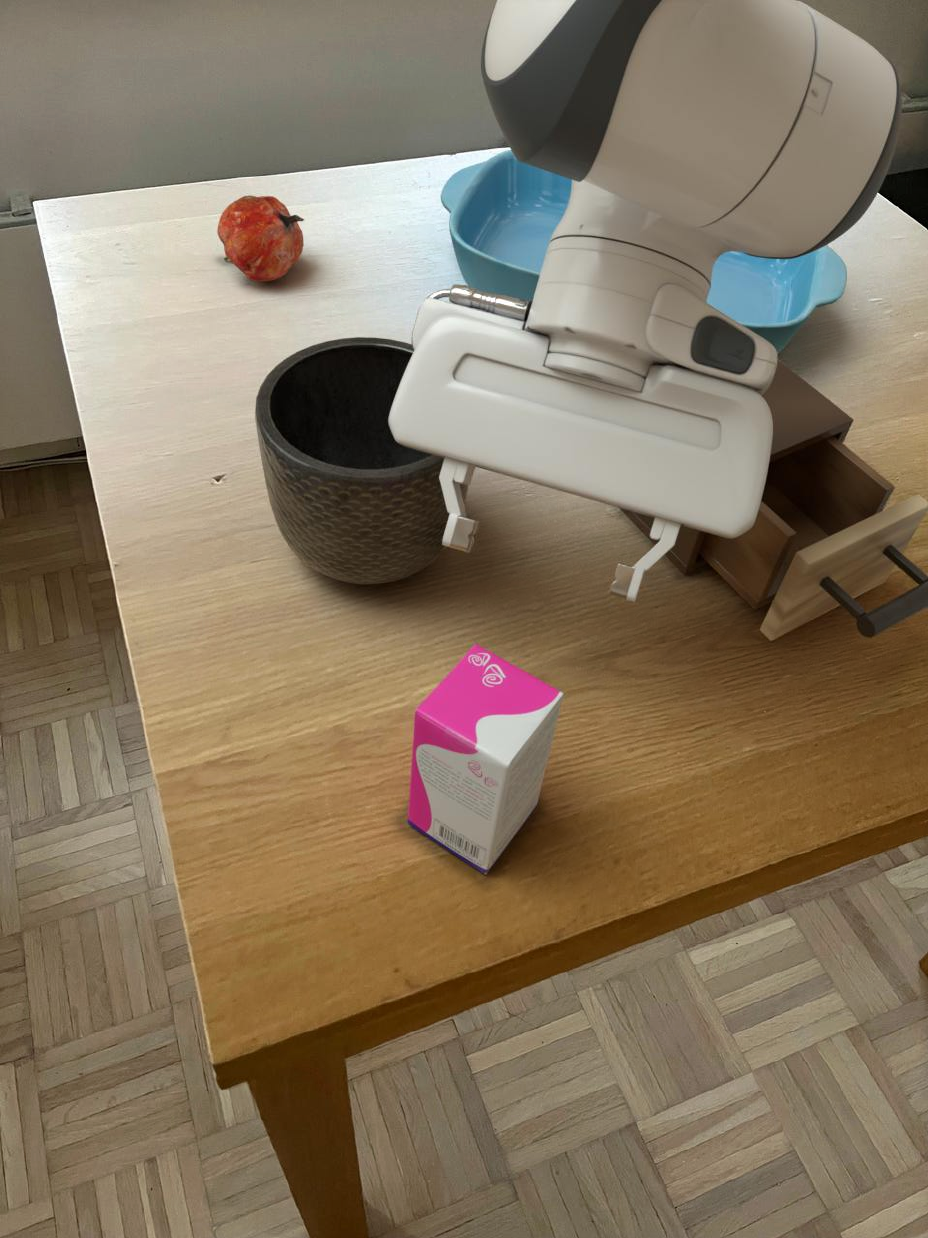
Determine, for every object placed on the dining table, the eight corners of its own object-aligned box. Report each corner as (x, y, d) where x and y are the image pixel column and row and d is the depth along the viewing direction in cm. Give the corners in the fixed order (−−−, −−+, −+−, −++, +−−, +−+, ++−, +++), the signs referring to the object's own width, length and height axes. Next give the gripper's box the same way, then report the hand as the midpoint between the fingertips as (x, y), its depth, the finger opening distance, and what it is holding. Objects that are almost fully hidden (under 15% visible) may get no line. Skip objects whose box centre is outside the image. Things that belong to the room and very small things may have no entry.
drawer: (938, 629, 71) (991, 552, 65) (822, 694, 67) (867, 618, 61) (759, 468, 80) (791, 389, 74) (647, 516, 76) (671, 436, 70)
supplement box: (540, 803, 61) (569, 692, 52) (485, 878, 58) (507, 773, 49) (460, 753, 63) (475, 638, 54) (403, 823, 60) (409, 712, 51)
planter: (281, 473, 77) (269, 328, 67) (465, 483, 78) (479, 341, 68) (257, 614, 69) (238, 471, 59) (464, 625, 69) (480, 485, 59)
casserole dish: (831, 280, 101) (858, 212, 95) (809, 415, 87) (839, 344, 81) (476, 196, 106) (482, 127, 100) (402, 311, 92) (404, 238, 86)
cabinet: (808, 516, 79) (854, 419, 71) (684, 574, 74) (719, 476, 66) (687, 408, 86) (717, 309, 79) (567, 454, 81) (587, 353, 74)
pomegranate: (218, 308, 94) (288, 275, 87) (176, 231, 91) (245, 191, 85) (269, 279, 99) (339, 247, 92) (231, 205, 96) (300, 166, 90)
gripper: (415, 258, 53) (344, 518, 54) (810, 359, 50) (723, 631, 51) (439, 290, 59) (375, 522, 60) (792, 381, 56) (715, 623, 57)
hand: (537, 573), depth 56 cm, fingers open, 8 cm apart
